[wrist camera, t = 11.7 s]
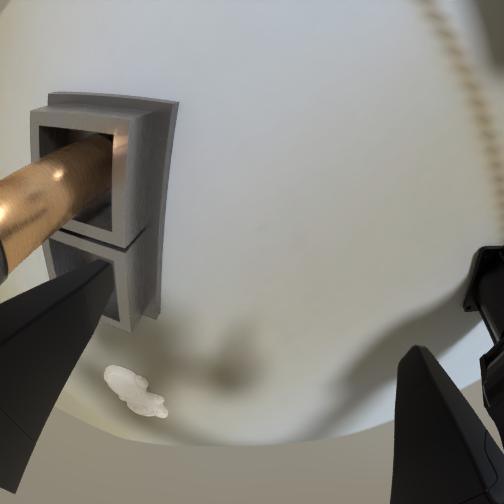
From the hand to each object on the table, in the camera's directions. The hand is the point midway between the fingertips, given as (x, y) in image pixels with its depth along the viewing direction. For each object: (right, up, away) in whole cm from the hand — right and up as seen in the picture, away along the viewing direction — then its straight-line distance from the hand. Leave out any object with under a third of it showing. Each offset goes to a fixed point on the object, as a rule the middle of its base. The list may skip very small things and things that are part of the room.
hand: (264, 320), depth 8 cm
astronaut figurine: (-17, -18, +31) cm, 40 cm away
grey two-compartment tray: (-12, +5, +15) cm, 20 cm away
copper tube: (-12, +8, +11) cm, 18 cm away
